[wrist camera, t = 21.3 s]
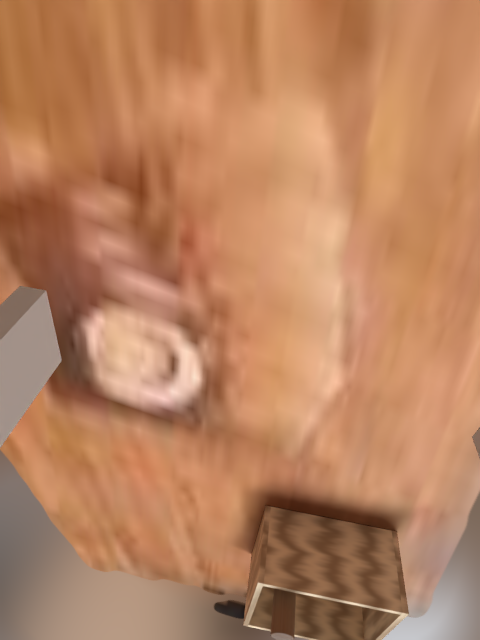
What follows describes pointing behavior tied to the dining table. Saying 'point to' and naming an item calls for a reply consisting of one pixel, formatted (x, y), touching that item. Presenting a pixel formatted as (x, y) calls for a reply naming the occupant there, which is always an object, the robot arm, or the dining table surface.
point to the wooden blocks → (283, 615)
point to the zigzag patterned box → (327, 576)
